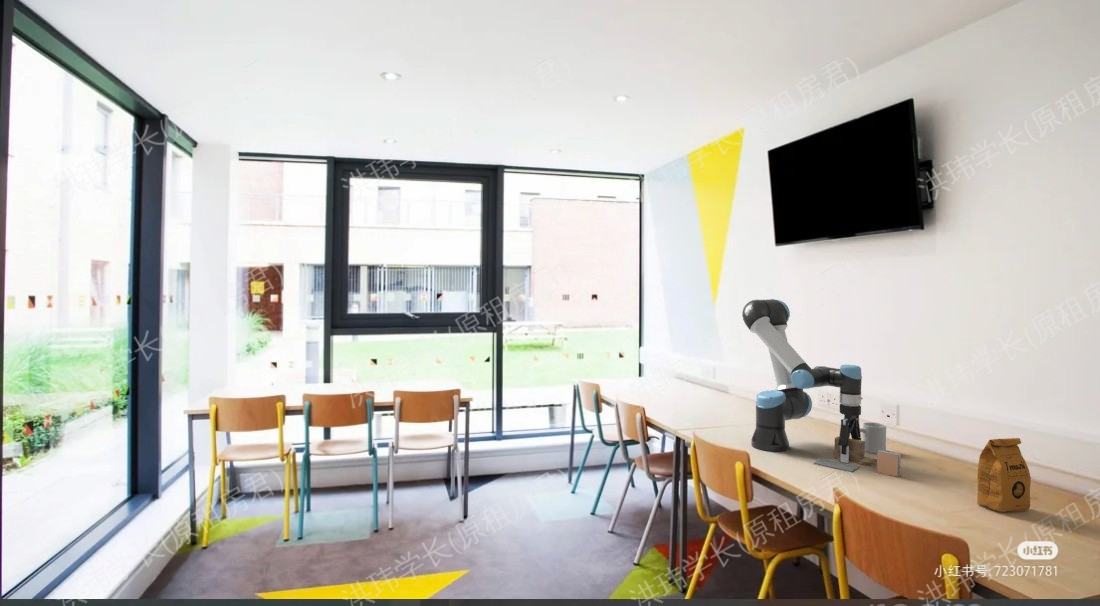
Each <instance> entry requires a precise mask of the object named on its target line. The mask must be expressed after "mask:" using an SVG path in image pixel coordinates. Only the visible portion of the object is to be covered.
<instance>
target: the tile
mask: <svg viewBox="0 0 1100 606" xmlns="http://www.w3.org/2000/svg"><path fill="white" fill-rule="evenodd" d="M901 456H902V454H901V453H899V452H893V451H887V450H886V451H882V450H878V451H877V454H876V459H877V468H876V473H877V474H882V475H887V476H891V477H895V478H900V476H901V462H902V461H901V458H902V457H901Z"/></svg>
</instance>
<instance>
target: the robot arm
mask: <svg viewBox="0 0 1100 606" xmlns="http://www.w3.org/2000/svg"><path fill="white" fill-rule="evenodd" d="M790 313H791V312H790V308H789V306H788V305H787V304H786V303H785V302H784V301H783V300H780V299H773V298H771V299H752V300H750V301H748V302H747V303H746V304H745V305H744V307H743V308H742V313H741V314H742V320H743V322H744V324H745V326H746V327H747V328H748V330H749V331H750V332H751V333H753V334H756V336H757V337H758V338H759V339H760V340H761V341H762V343H763V344H765V346H766V347H767V348H768V352H769V357H770V361H771V365H772V369H773V373H774V377H775V382H776V388H775V389H773V390H772V389H771V390H764V391H761V392H758V393H757V395H756V400H755V429H754V432H753V435H752V438H751V440H750V441H751V447H753V448H755V449H758V450H763V451H768V452H785V451H788V450H789V449H790V441H789V439H788V435H787V432H786V421H790V420H799V419H801V418H805V417H807V416H808V415H809V414H810V412H812V408H813V407H812V406H813V401H812V398H811V396H810V395H809V394H808V392H806V391H804V390H807V389H813V388H821V387H834V388H839V403H840V404H839V413H840V414H841V415H843V416H844V417H843V419H840V427H839V428H840V430H839V435H838V437H839V443H838V445H841V457H840V459H839V461H840V462H841V463H845V464H849V463H850V461H849V446H848V442H849V439H850V437H851V439H855V440H861V441H862V437H861V432H860V428H861V427H860V415H861V414H862V406H861V405H862V400H863V397H862V380H863V377H862V368H861V366H859V365H856V364H855V365H854V364H841V365H840V367H839V368H835V367H830V366H823V365H822V366H821V365H820V366H819V365H817V366H814V368H812V367H810V365H808V363H806V361H805V360H804V359H803V358H802V357H801V355H800V354H799V353H798V352H797V351H796V350H795V348H793V346H792V345H791V344H790V343H789V342H788V338H787V334H786V329H787V328H788V321H789V318H790V316H791V314H790Z"/></svg>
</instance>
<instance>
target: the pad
mask: <svg viewBox="0 0 1100 606" xmlns="http://www.w3.org/2000/svg"><path fill="white" fill-rule="evenodd" d="M813 463H814V464H813V465H816V464H818V465H817V466H821V465H822V467H827V468H830V469H835V470H840V471H845V472H850V473H853V472H855V471H856V470H857V469H859V468H860V466H858V465H855V464H849V463H845V462H839V461H836V460H829V459H827V458H820V459H817V460H816V461H814V462H813Z"/></svg>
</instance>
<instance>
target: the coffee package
mask: <svg viewBox="0 0 1100 606" xmlns="http://www.w3.org/2000/svg"><path fill="white" fill-rule="evenodd" d="M1021 444H1022V441H1021V438H1019V437H1016V438H1015V437H1012V438H1010V437H1009V438H994V439H993V438H991V439H989V440H988V442H987V443H986V444H985V445H984V448H983V449H982V451H981V453H980V454H979V458H978V464H977V465H978V466H977V475H976V476H977V480H976V481H977V485H976V486H977V491H976V493H977V497H976V498H977V501H976V502H977V505H978V506H981V507H982V506H983V507H985V508H989V509H991V510H993V511H997V512H1000V513H1003V512H1024V511H1025V510H1027V511H1029V509H1030V508H1031V481H1032V480H1031V473H1030V469H1029V467H1028V464H1027V462H1026V460H1025V458H1024V457H1023V454H1022V451H1021V449H1020V447H1019V446H1018V445H1021ZM1025 512H1026V511H1025Z"/></svg>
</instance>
